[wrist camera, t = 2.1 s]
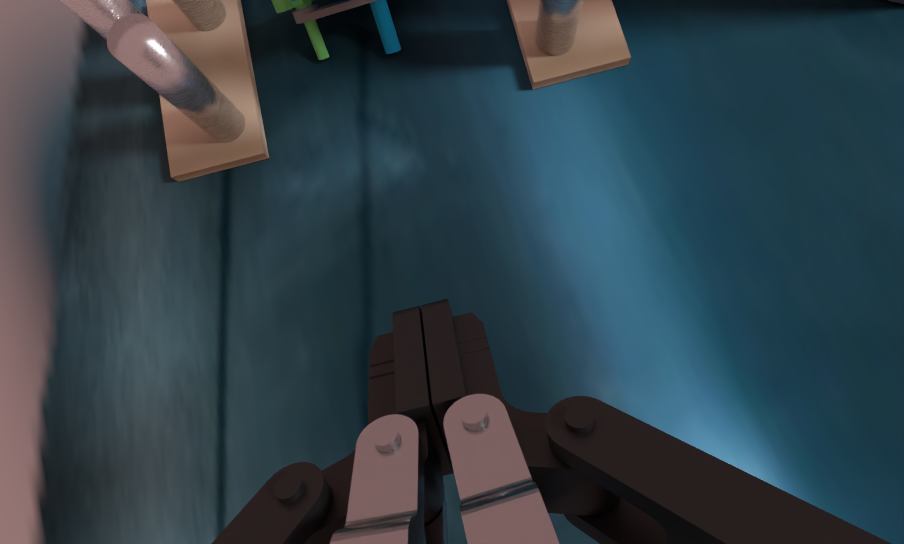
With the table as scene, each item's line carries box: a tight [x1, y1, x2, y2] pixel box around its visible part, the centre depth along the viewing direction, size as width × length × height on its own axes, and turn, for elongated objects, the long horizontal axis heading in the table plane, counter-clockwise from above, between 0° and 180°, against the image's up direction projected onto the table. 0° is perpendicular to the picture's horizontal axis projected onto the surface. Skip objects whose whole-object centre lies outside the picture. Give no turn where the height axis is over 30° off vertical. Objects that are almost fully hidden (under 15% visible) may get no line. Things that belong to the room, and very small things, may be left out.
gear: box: [272, 0, 401, 60], centre depth 33 cm, size 11×6×10 cm
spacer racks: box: [146, 0, 631, 182], centre depth 35 cm, size 13×29×1 cm, turn 103°
